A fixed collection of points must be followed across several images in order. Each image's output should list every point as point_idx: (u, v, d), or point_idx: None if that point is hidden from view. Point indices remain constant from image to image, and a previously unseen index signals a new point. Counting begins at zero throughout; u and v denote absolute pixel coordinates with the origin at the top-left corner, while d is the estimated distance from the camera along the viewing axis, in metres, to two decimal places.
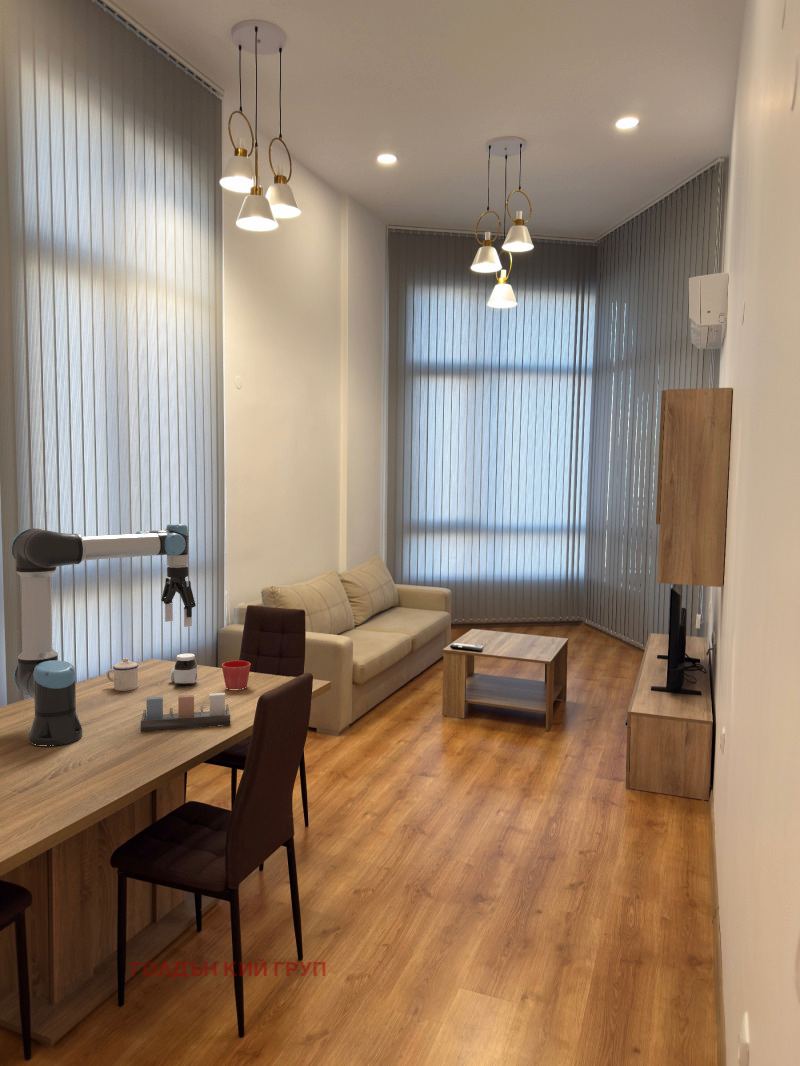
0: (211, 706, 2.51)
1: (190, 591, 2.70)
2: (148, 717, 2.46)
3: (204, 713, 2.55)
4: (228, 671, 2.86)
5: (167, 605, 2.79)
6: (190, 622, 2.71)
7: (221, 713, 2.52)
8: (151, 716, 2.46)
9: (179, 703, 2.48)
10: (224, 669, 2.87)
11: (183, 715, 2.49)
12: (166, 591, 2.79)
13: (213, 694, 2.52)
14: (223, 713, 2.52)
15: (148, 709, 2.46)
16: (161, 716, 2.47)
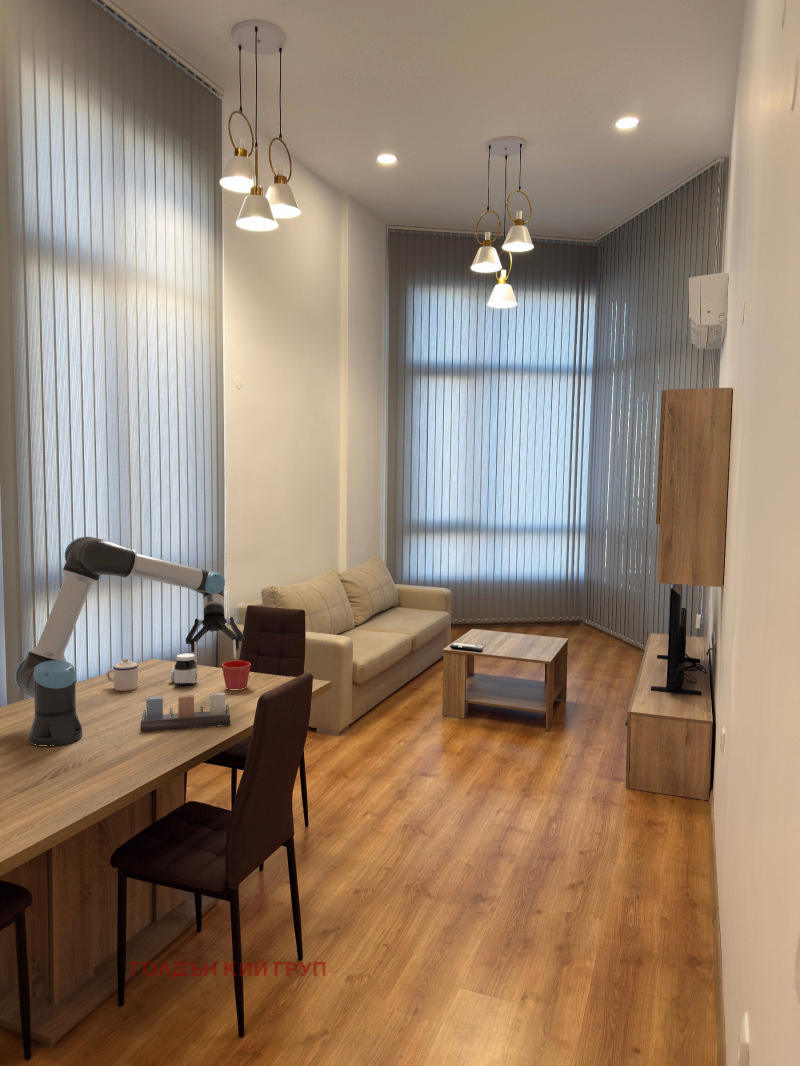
0: (211, 706, 2.51)
1: None
2: (148, 717, 2.46)
3: (204, 713, 2.55)
4: (228, 671, 2.86)
5: (196, 643, 2.67)
6: None
7: (221, 713, 2.52)
8: (151, 716, 2.46)
9: (179, 703, 2.48)
10: (224, 669, 2.87)
11: (183, 715, 2.49)
12: (194, 631, 2.70)
13: (213, 694, 2.52)
14: (223, 713, 2.52)
15: (148, 709, 2.46)
16: (161, 716, 2.47)
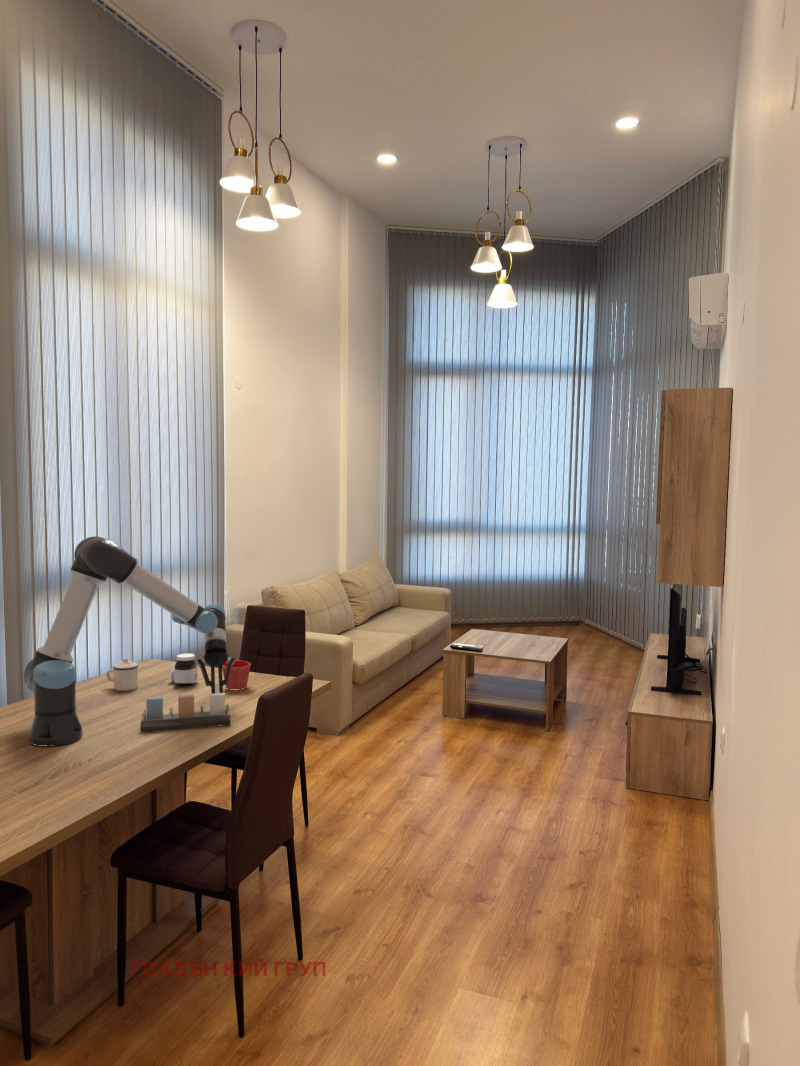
0: (211, 706, 2.51)
1: (230, 670, 2.64)
2: (148, 717, 2.46)
3: (204, 713, 2.55)
4: None
5: None
6: None
7: (221, 713, 2.52)
8: (151, 716, 2.46)
9: (179, 703, 2.48)
10: (224, 669, 2.87)
11: (183, 715, 2.49)
12: None
13: (213, 694, 2.52)
14: (223, 713, 2.52)
15: (148, 709, 2.46)
16: (161, 716, 2.47)
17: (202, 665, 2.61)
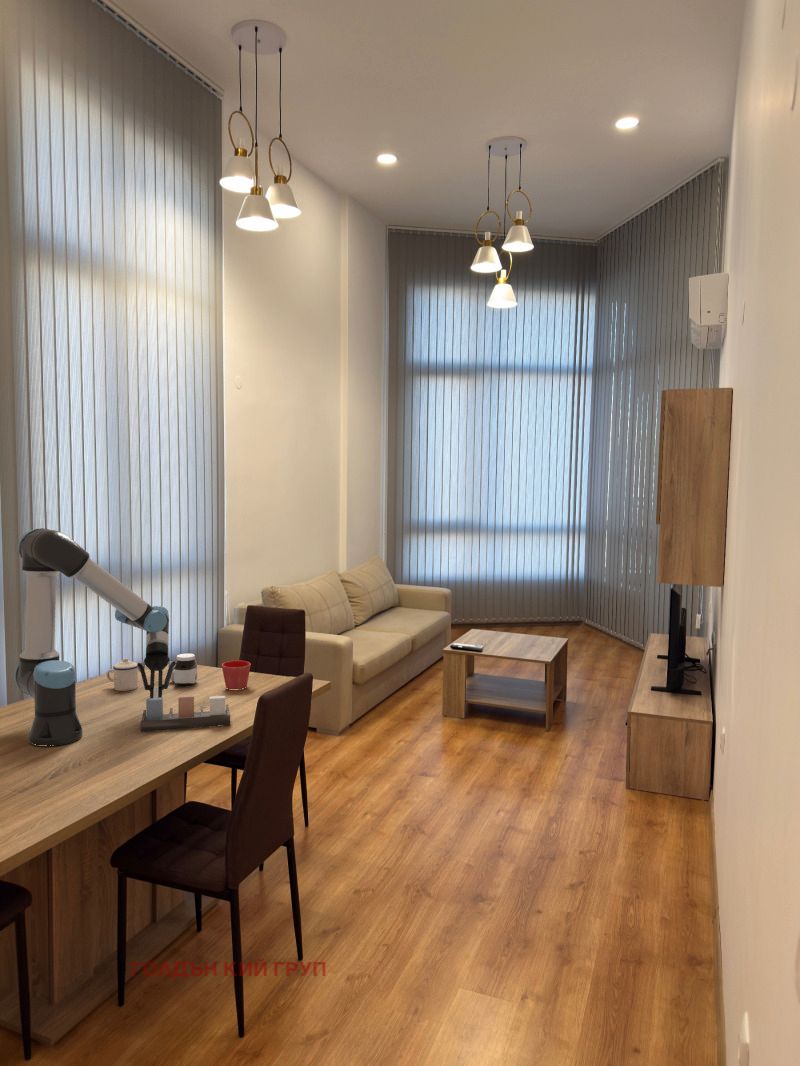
0: (211, 709, 2.47)
1: (171, 674, 2.58)
2: (148, 718, 2.45)
3: (204, 713, 2.55)
4: (228, 671, 2.86)
5: None
6: None
7: None
8: (151, 717, 2.45)
9: (179, 703, 2.48)
10: (224, 669, 2.87)
11: (183, 715, 2.49)
12: (145, 675, 2.55)
13: (213, 697, 2.49)
14: None
15: (148, 710, 2.45)
16: (161, 717, 2.46)
17: (141, 669, 2.55)
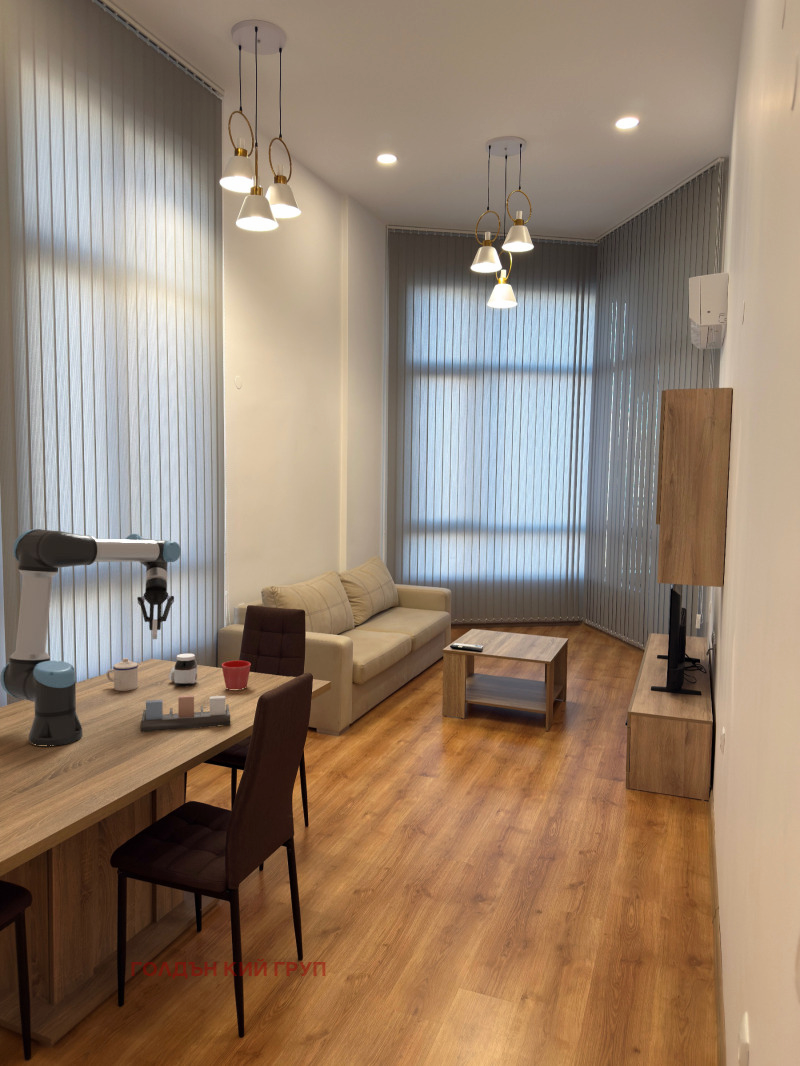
0: (211, 709, 2.47)
1: (169, 607, 2.71)
2: None
3: (204, 713, 2.55)
4: (228, 671, 2.86)
5: None
6: None
7: None
8: None
9: (179, 703, 2.48)
10: (224, 669, 2.87)
11: (183, 715, 2.49)
12: (145, 608, 2.67)
13: (213, 697, 2.49)
14: None
15: (147, 712, 2.42)
16: None
17: (141, 602, 2.68)
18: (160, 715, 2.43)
